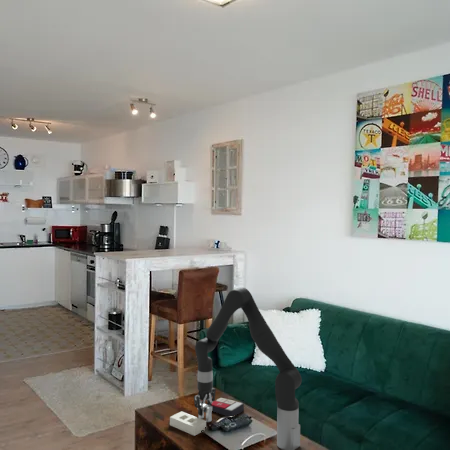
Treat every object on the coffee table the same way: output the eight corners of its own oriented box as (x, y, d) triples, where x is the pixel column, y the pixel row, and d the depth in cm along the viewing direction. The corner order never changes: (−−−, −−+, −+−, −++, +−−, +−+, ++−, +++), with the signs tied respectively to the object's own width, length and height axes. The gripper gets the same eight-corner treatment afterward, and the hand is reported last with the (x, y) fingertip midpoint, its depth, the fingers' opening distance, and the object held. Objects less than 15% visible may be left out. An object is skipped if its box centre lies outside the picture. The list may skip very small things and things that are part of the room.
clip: (212, 420, 224) (212, 406, 223) (208, 422, 221) (208, 408, 221) (201, 416, 228) (201, 402, 228) (197, 418, 226) (197, 404, 225)
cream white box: (206, 429, 215) (206, 420, 215) (194, 435, 209) (194, 427, 208) (181, 419, 225) (181, 411, 225) (169, 425, 219) (169, 416, 219)
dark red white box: (220, 396, 244) (243, 402, 235) (220, 404, 244) (244, 410, 235) (207, 403, 235) (231, 409, 226) (208, 412, 235) (231, 418, 226)
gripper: (200, 385, 216) (200, 420, 217) (220, 376, 227) (220, 410, 228) (189, 381, 221) (189, 415, 221) (209, 373, 232) (208, 405, 232)
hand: (204, 412), depth 225 cm, fingers open, 5 cm apart
